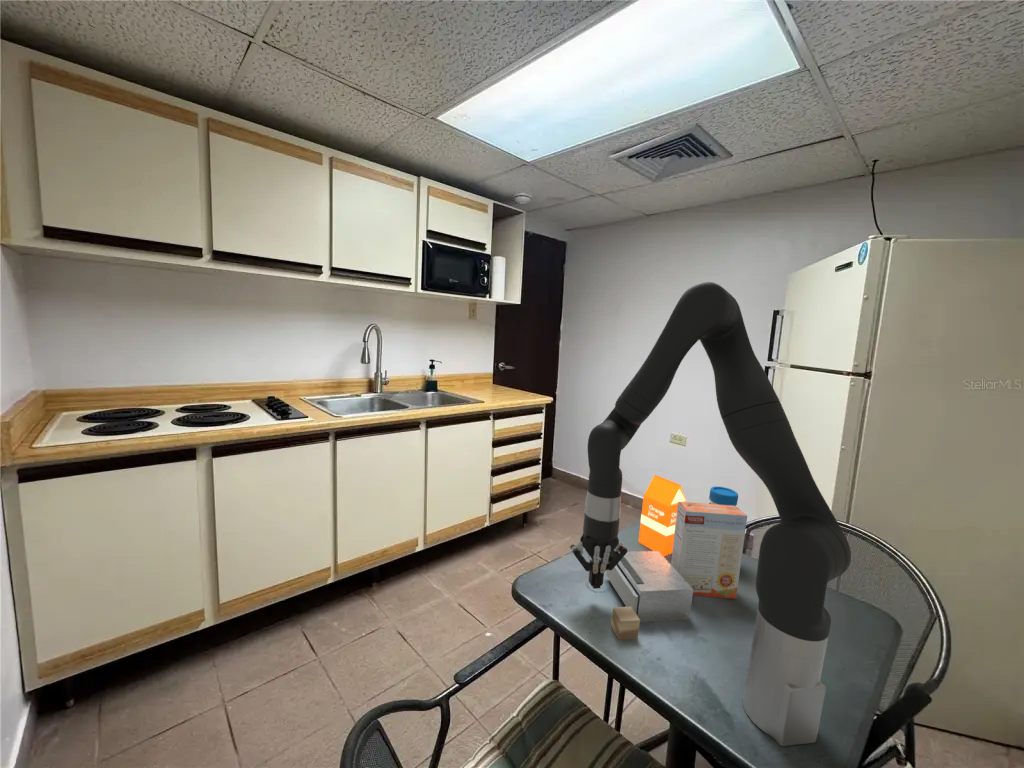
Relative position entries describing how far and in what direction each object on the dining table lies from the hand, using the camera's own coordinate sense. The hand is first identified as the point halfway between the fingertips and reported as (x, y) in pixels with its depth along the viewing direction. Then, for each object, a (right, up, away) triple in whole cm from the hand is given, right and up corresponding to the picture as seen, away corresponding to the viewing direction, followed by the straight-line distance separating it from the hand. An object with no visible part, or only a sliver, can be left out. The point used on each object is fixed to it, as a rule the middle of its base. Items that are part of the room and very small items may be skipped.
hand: (595, 586), depth 91 cm
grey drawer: (+11, -3, +3) cm, 12 cm away
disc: (+10, -2, +3) cm, 11 cm away
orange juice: (+24, -2, +27) cm, 36 cm away
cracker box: (+27, -5, +8) cm, 29 cm away
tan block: (+4, -5, -8) cm, 10 cm away
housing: (+12, -4, +3) cm, 14 cm away
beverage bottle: (+37, -4, +22) cm, 43 cm away
